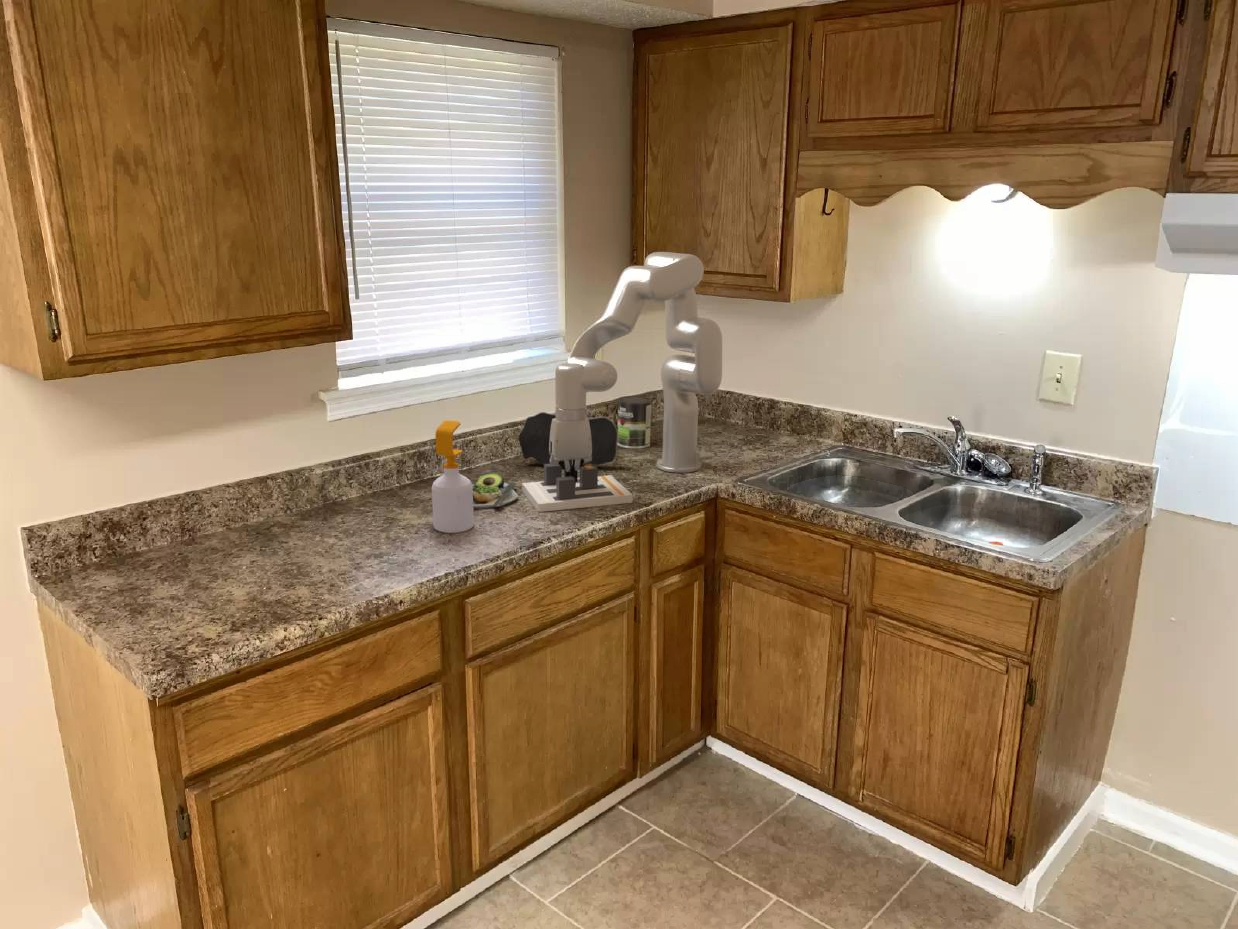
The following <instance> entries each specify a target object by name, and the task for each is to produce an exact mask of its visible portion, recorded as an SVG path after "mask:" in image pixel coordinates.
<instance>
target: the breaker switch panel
mask: <svg viewBox="0 0 1238 929" xmlns="http://www.w3.org/2000/svg"><path fill="white" fill-rule="evenodd" d="M562 469H563V468H562V467H561V466H560V465H554V464H543V481H531V482H530V481H529V482H522V483H521V490H522V492H523V494H524V495H525V496H526V498H527V499H528V500H529V501H530V503H531V504H532V505H533V506H534V508H535V510H536V511H537V512H538V513H541V512H543V513H544V512H550V511H551V512H552V511H553V512H554V511H561V510H573V509H580V508H583V509H584V508H591V507H600V506H602V507H603V506H611V505H620V504H630V503H633V501H634V499H633V496H634V495H633V494H632V493H631V492H630V491H629V490H628V489H627V488H626V487H624V486H623V485H622V484H621V483H620V482H619V481H618V480H617V479H616V478H615V477H613V476H612V475H611V474H610V475H600V476H599V475H598V487H597V488H586V489H582V488H581V487H580V477H578V481H577V482H576V486H575V479H574V478H573V477H572V476H570V477H564V476H563V474H562V472H563V471H562Z"/></svg>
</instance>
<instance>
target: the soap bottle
mask: <svg viewBox="0 0 1238 929" xmlns="http://www.w3.org/2000/svg"><path fill="white" fill-rule="evenodd" d="M460 426H461V421H456V420H448V419H447V420H444V421H443V422H442V423H441V424H440V425H439V426H438V427H437V429H436V431H435V434H434V435H435V452H436V454H437V455H438V456H444V459H446V460H447V461H446V463H444V464H443V474H442V475H441V476H439V477H438V478H436V479H435V480H434V481H433V483H432V486H431V503H432V520H433V521H432V523H433V524H432V525H433V527H434V529H435V530H436V531H438V532H440V533H443V534H444V533H446V534H458V533H463V532H467V531H469V530H470V529H472V528H473V526H474V524H475V522H474V521H475V520H474V519H475V518H474V509H473V505H474V501H473V486H472V484H473V483H472V481H471V480H470V479H469V478H468V477H467V476H465V475H462V474H461V473H460V465H459V463H457V462H456V459H457V458H458V456H459V455H461V454H463V449H462V450H461V449H454V439H453V438H454V433H455V431H456V430H457V429H458V428H459V427H460Z"/></svg>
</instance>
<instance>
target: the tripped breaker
mask: <svg viewBox="0 0 1238 929" xmlns="http://www.w3.org/2000/svg"><path fill="white" fill-rule="evenodd" d="M598 469H599V468H598V467H597V466H595V465H592V464H591V465H590V464H587V465H584V466H581V467H580V468H579V478H580V487H581V488H582V489H586V488H597V487H598V476H599V475H598V474H599V473H598V472H599V471H598Z"/></svg>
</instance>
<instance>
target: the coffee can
mask: <svg viewBox="0 0 1238 929" xmlns="http://www.w3.org/2000/svg"><path fill="white" fill-rule="evenodd" d="M652 402H653V399H651V398H649V397H647V396H642V395H627V396H626V395H625V396H621V397H618V398H617V433H618V435H617V447H621V448H624V449H632V450H633V449H636V450H637V449H639V450H640V449H645V448H648V447H650V446H651V428H652V427H651V425H652V424H651V423H652Z"/></svg>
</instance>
